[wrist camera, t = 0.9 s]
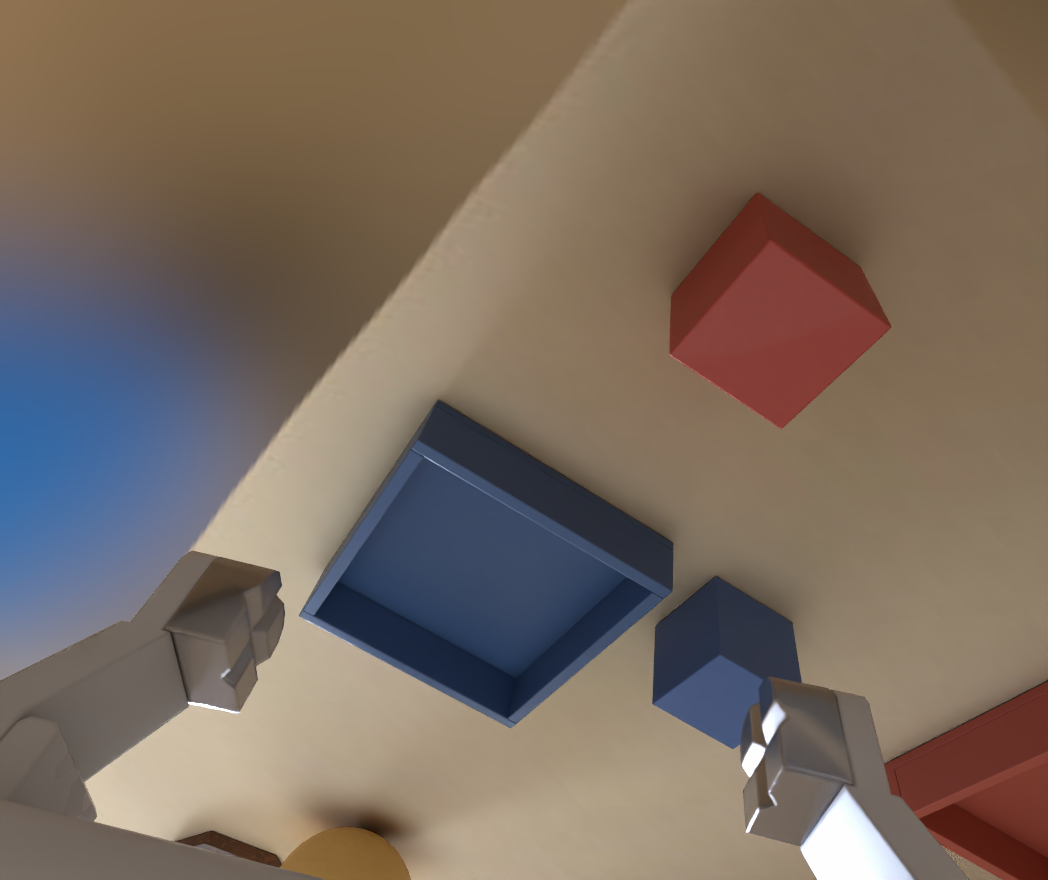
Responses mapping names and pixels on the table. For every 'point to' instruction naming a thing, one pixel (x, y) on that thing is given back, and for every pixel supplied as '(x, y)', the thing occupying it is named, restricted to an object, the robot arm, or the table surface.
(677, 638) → the blue block
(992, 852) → the red tray
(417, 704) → the table surface
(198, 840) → the robot figurine
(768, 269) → the red block
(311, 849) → the stress ball
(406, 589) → the blue tray
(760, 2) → the table surface
